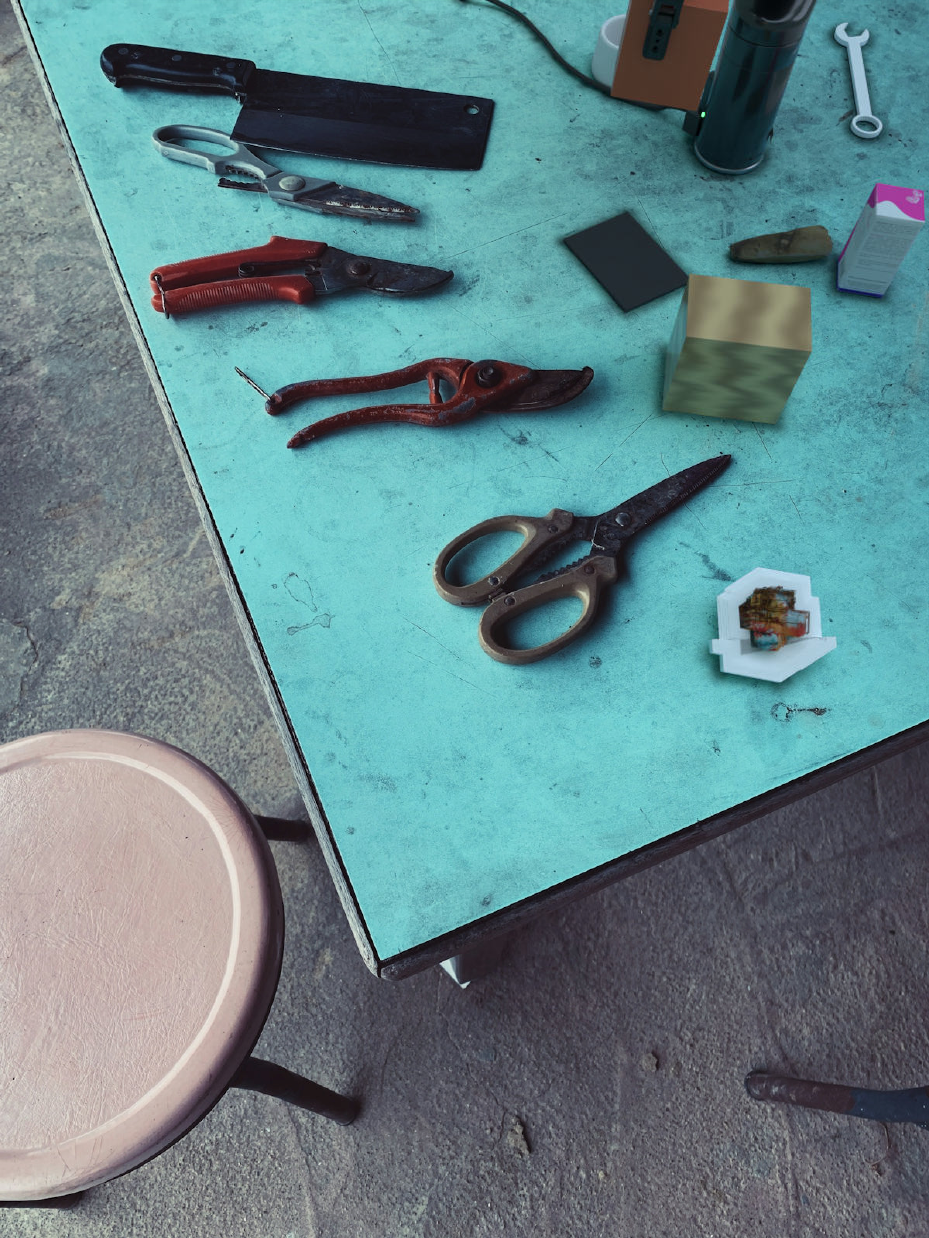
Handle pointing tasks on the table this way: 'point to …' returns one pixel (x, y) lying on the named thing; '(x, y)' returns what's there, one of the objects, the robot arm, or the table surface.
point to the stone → (785, 246)
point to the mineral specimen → (769, 626)
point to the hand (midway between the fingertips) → (654, 37)
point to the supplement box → (880, 240)
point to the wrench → (858, 80)
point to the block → (669, 55)
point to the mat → (626, 261)
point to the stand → (737, 348)
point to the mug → (607, 50)
